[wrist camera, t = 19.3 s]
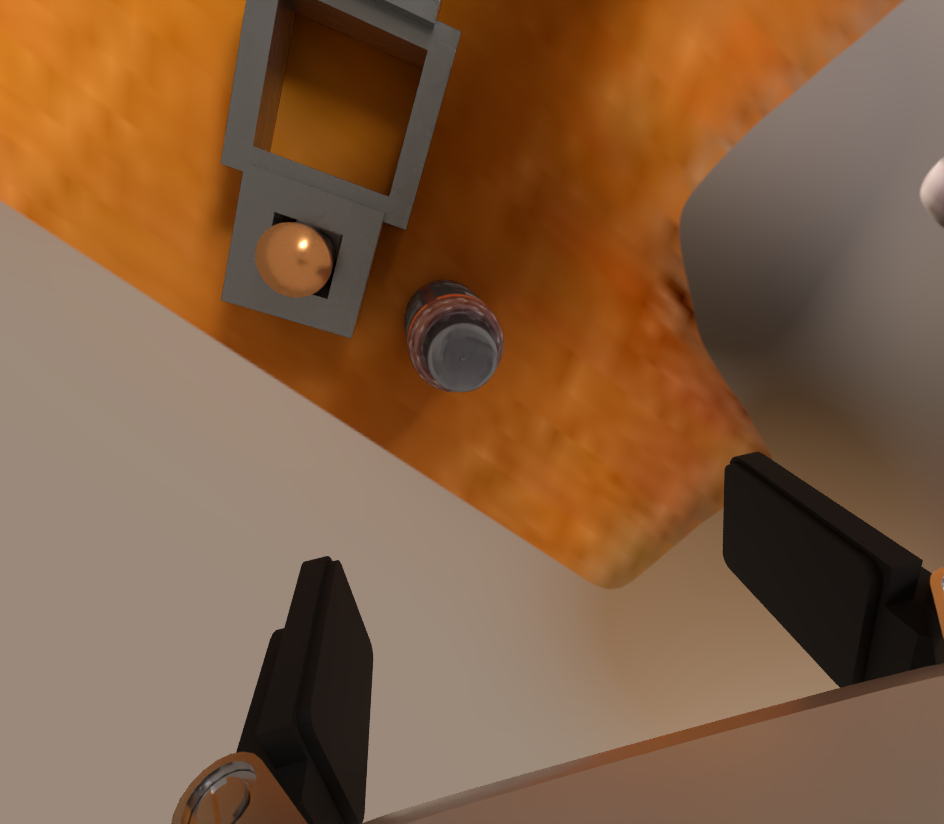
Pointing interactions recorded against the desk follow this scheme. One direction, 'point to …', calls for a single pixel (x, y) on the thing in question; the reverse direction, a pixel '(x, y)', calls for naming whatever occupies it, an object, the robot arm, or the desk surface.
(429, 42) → the housing
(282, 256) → the plunger
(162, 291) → the desk surface
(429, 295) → the supplement bottle
